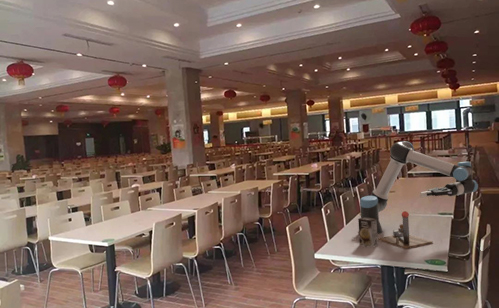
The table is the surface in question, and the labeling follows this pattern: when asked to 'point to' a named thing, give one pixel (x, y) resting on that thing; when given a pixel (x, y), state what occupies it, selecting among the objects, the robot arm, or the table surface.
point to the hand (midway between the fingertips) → (421, 194)
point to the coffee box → (368, 232)
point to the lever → (405, 235)
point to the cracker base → (397, 242)
